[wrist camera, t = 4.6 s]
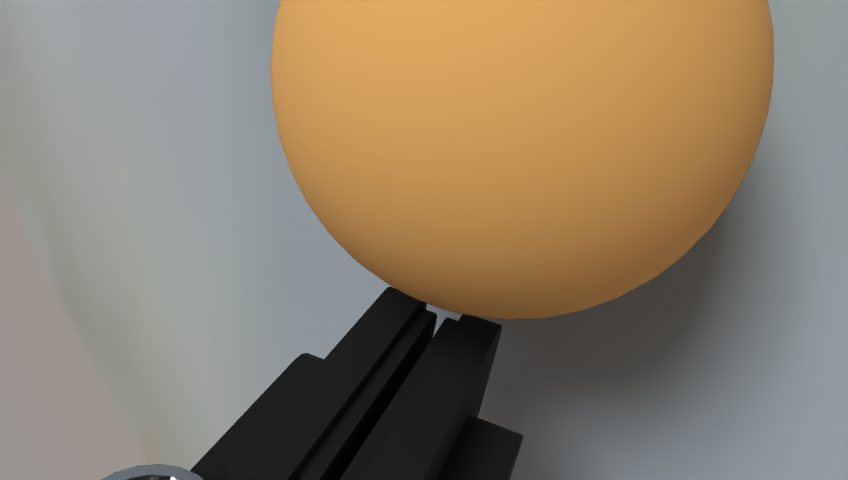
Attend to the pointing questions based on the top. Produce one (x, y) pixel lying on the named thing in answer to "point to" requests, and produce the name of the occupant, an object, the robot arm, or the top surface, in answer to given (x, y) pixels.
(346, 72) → the ball
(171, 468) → the robot arm
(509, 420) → the top surface
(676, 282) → the top surface
